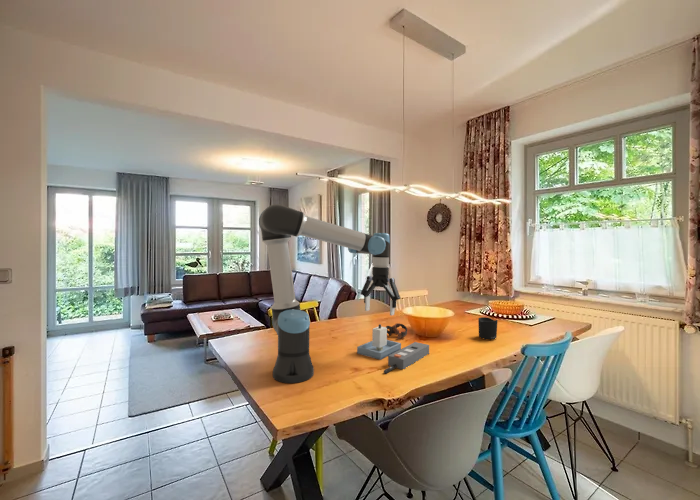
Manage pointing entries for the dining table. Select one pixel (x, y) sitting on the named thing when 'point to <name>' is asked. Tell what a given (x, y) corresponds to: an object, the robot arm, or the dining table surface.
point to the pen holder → (487, 328)
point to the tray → (377, 354)
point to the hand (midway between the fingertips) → (379, 312)
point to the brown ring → (395, 331)
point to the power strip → (407, 356)
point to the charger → (379, 337)
